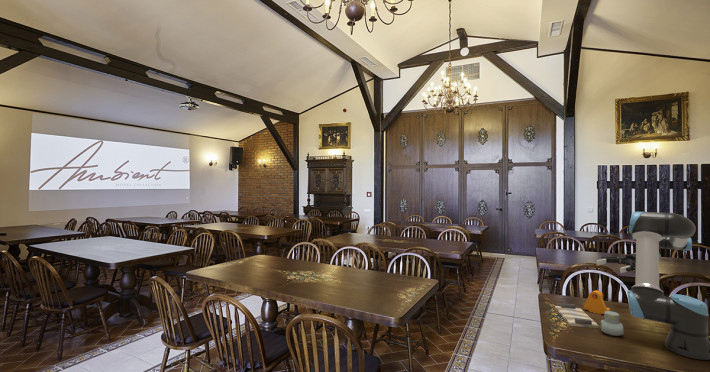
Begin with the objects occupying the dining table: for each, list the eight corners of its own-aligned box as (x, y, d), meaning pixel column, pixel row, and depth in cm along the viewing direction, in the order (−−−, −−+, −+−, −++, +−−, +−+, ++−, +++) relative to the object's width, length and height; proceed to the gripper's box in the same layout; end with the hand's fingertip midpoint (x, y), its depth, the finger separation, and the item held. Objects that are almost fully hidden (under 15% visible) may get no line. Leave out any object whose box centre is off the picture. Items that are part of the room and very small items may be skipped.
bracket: (610, 313, 193) (610, 292, 193) (605, 316, 188) (606, 294, 188) (588, 307, 201) (588, 287, 201) (583, 310, 197) (583, 289, 197)
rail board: (599, 328, 172) (599, 322, 172) (569, 325, 176) (569, 319, 176) (580, 310, 197) (580, 304, 197) (554, 307, 201) (554, 302, 201)
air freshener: (600, 327, 173) (600, 307, 173) (620, 331, 169) (620, 311, 169) (602, 335, 164) (602, 314, 164) (624, 339, 160) (624, 318, 160)
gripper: (660, 273, 189) (631, 280, 183) (614, 259, 213) (588, 266, 207) (660, 259, 188) (631, 267, 182) (614, 248, 212) (588, 254, 206)
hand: (608, 266), depth 195 cm, fingers open, 13 cm apart
